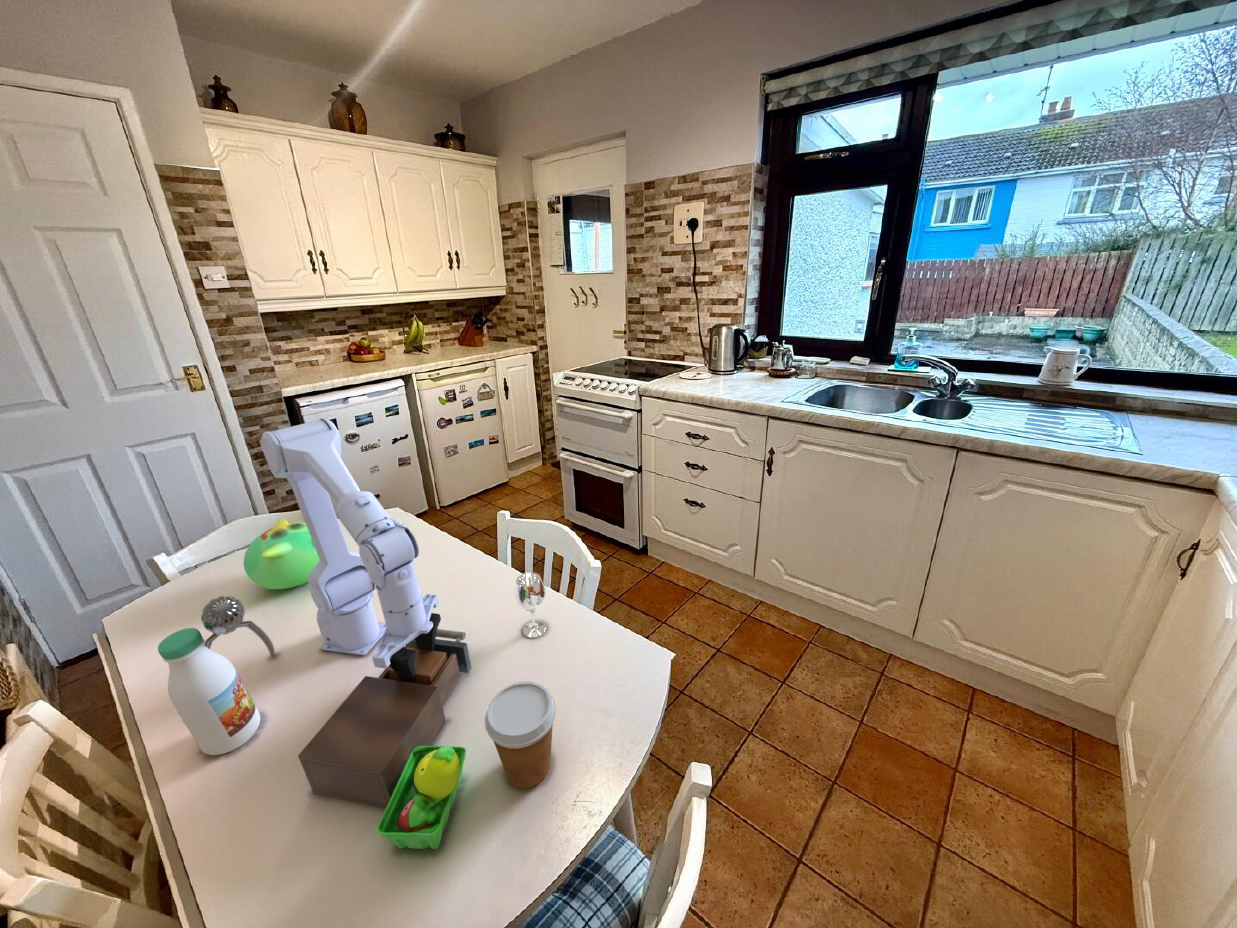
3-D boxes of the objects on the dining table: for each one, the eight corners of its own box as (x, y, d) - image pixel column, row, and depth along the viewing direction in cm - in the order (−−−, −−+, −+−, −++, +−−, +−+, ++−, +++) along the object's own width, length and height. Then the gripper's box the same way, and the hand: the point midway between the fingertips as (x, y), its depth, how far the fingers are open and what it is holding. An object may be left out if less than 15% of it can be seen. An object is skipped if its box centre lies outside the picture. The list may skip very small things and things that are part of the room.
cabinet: (376, 710, 79) (365, 675, 76) (446, 721, 77) (438, 686, 74) (313, 793, 67) (297, 755, 64) (394, 809, 65) (382, 771, 62)
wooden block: (391, 683, 79) (387, 669, 78) (409, 660, 83) (405, 647, 82) (433, 689, 77) (429, 675, 76) (448, 666, 82) (445, 652, 81)
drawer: (426, 643, 92) (420, 619, 90) (482, 650, 90) (477, 625, 88) (368, 718, 77) (360, 692, 75) (434, 729, 75) (427, 702, 73)
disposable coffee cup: (502, 812, 64) (490, 750, 59) (489, 751, 72) (478, 692, 67) (570, 783, 68) (564, 721, 63) (551, 727, 76) (544, 669, 71)
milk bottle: (215, 766, 71) (153, 669, 63) (193, 741, 75) (132, 646, 66) (271, 725, 77) (222, 630, 68) (248, 703, 81) (199, 611, 72)
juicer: (275, 655, 91) (278, 608, 70) (201, 691, 84) (179, 651, 63) (254, 610, 93) (250, 552, 72) (179, 642, 85) (151, 587, 64)
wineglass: (543, 641, 93) (537, 590, 88) (515, 638, 94) (507, 587, 89) (552, 621, 98) (547, 572, 93) (526, 618, 99) (519, 569, 94)
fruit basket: (420, 769, 70) (405, 713, 66) (481, 770, 70) (469, 713, 65) (383, 859, 59) (361, 800, 55) (454, 860, 59) (438, 801, 55)
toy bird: (324, 550, 125) (308, 500, 119) (358, 572, 115) (343, 518, 110) (243, 587, 111) (221, 531, 106) (274, 614, 102) (252, 556, 96)
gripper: (396, 637, 67) (414, 707, 72) (449, 575, 80) (461, 638, 85) (351, 631, 68) (373, 701, 74) (410, 571, 81) (425, 634, 87)
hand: (418, 667), depth 80 cm, fingers closed on wooden block, 5 cm apart
